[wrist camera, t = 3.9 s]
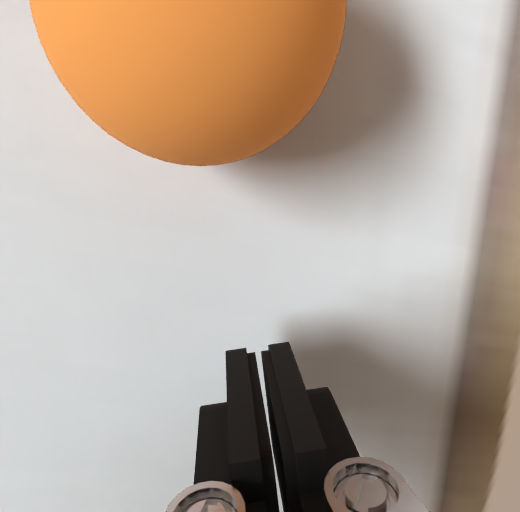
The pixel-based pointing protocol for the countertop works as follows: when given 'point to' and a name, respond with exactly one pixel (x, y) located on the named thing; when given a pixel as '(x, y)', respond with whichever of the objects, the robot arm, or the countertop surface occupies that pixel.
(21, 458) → the countertop surface
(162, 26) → the ball
